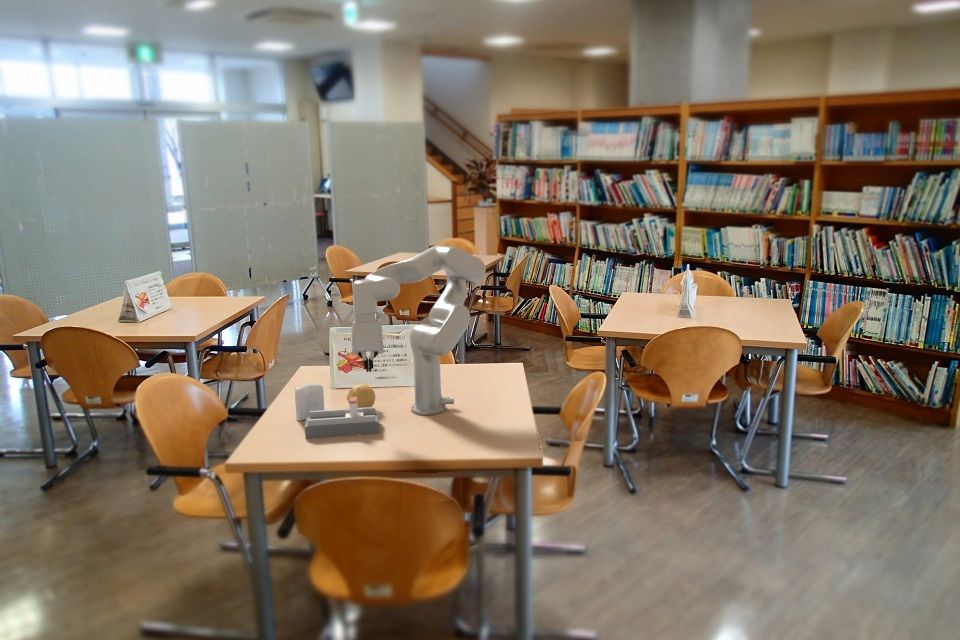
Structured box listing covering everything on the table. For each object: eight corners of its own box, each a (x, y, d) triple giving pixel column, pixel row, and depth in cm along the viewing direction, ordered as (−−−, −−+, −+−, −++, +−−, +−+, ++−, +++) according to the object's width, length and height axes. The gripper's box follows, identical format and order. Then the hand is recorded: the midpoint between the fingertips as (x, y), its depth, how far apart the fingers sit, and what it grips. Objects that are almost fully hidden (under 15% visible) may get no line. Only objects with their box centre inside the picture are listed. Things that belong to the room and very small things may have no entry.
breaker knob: (363, 414, 248) (362, 395, 247) (363, 420, 243) (361, 401, 241) (345, 415, 248) (344, 396, 246) (344, 421, 242) (343, 402, 240)
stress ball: (365, 407, 270) (343, 392, 267) (381, 389, 267) (359, 374, 264) (363, 421, 261) (340, 406, 258) (379, 402, 258) (356, 387, 255)
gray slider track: (378, 422, 252) (377, 406, 251) (378, 433, 242) (377, 416, 241) (308, 427, 249) (307, 410, 247) (305, 438, 239) (304, 421, 238)
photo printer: (322, 412, 263) (319, 379, 260) (326, 415, 260) (324, 382, 257) (294, 418, 258) (292, 385, 255) (299, 422, 254) (296, 388, 251)
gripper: (388, 313, 242) (391, 366, 247) (343, 315, 241) (346, 368, 245) (389, 318, 235) (391, 372, 239) (342, 321, 233) (345, 375, 237)
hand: (368, 370), depth 242 cm, fingers closed
